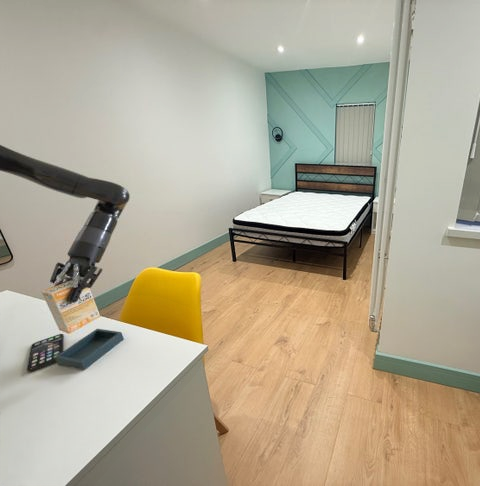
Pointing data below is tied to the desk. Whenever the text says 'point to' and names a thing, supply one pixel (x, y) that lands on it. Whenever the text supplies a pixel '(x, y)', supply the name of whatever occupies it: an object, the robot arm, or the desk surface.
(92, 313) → the supplement box
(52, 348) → the smartphone
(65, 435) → the desk surface
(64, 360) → the pad dock
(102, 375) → the desk surface
